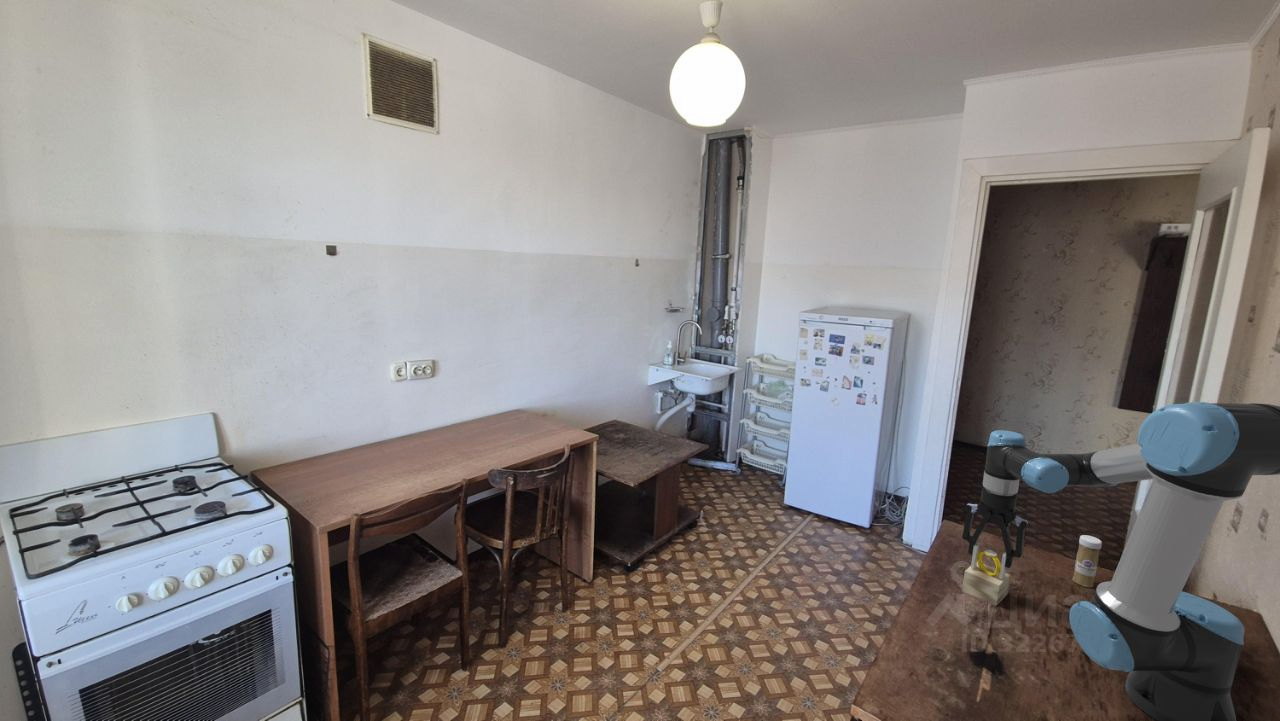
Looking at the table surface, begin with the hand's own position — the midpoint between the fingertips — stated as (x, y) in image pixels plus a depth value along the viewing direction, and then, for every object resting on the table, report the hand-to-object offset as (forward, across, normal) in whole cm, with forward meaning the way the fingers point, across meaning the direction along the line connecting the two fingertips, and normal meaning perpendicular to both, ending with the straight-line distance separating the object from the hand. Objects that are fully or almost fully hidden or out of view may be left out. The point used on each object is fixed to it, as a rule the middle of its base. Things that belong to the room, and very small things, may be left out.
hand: (987, 571), depth 137 cm
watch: (+1, 0, 0) cm, 1 cm away
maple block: (+6, 0, 0) cm, 6 cm away
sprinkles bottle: (+6, -18, -25) cm, 31 cm away
